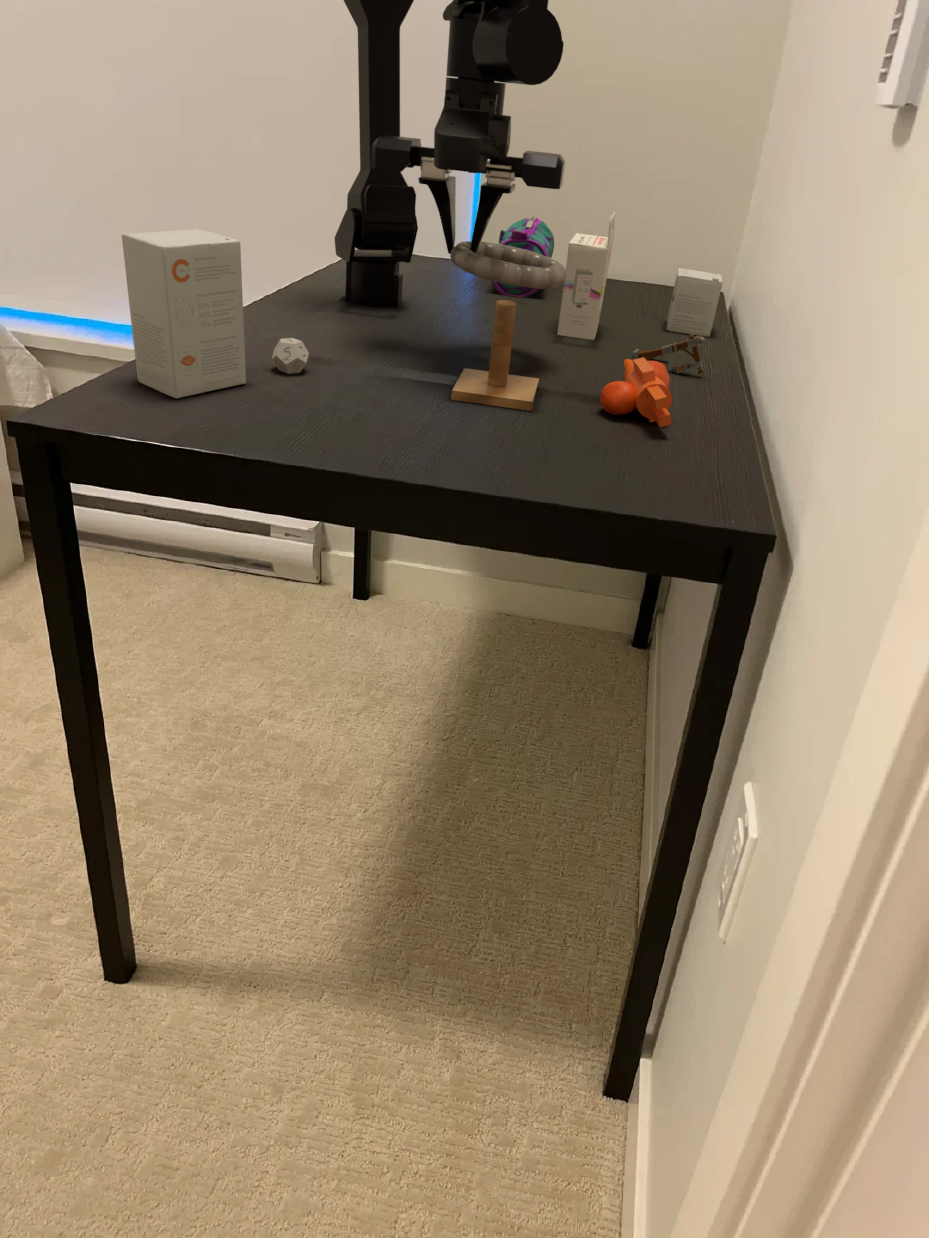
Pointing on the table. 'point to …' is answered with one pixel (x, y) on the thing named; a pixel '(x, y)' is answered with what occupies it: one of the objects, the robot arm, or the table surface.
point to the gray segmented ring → (509, 265)
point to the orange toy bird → (640, 391)
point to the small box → (186, 310)
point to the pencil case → (526, 248)
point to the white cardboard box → (694, 302)
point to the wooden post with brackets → (675, 348)
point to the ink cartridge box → (585, 284)
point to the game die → (290, 355)
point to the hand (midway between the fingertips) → (461, 254)
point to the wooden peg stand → (498, 370)
